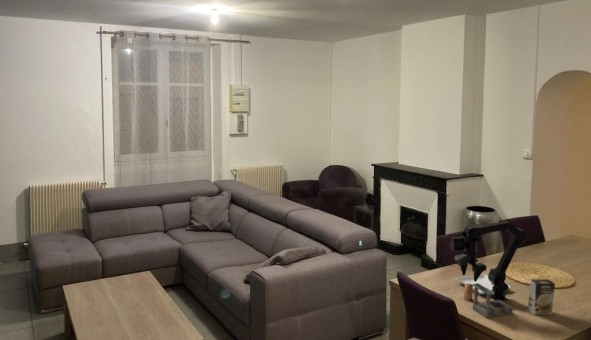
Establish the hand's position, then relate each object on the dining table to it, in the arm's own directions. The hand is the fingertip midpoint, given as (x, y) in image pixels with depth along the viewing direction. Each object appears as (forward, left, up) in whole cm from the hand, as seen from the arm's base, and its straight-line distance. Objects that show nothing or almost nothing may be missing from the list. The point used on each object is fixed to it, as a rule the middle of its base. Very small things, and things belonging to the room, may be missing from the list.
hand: (469, 278), depth 258 cm
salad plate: (-18, -11, -12) cm, 25 cm away
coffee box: (-24, +24, -12) cm, 36 cm away
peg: (0, 0, -12) cm, 12 cm away
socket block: (-2, +16, -12) cm, 20 cm away
